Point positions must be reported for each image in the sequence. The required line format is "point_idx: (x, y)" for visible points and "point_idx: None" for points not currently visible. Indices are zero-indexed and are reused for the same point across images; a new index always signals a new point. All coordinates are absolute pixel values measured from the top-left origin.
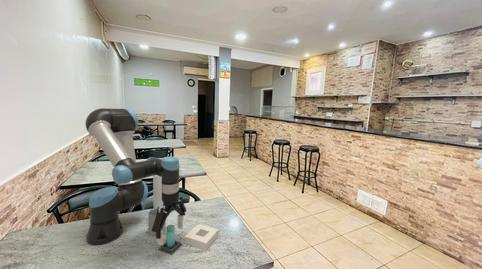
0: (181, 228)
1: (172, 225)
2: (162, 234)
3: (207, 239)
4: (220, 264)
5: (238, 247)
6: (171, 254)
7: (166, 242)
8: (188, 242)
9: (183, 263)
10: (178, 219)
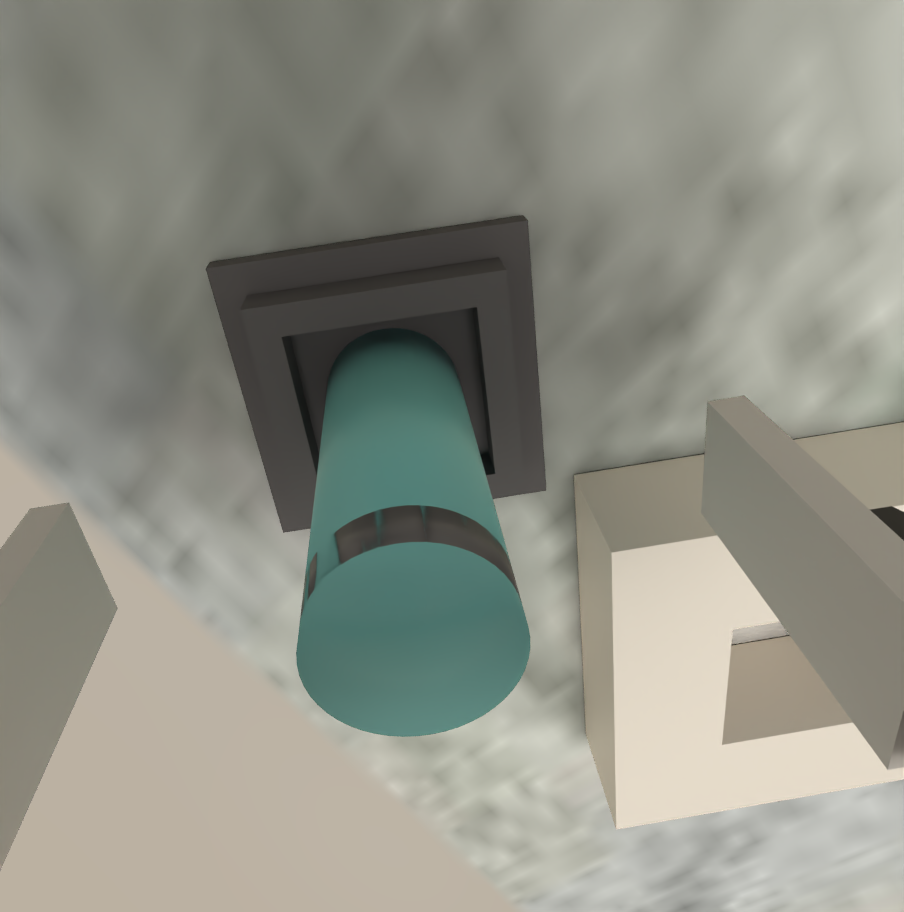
0: (705, 510)
1: (497, 637)
2: (7, 814)
3: (693, 798)
4: (500, 891)
5: (773, 877)
6: (289, 521)
7: (393, 299)
8: (589, 563)
9: (299, 692)
10: (826, 566)
